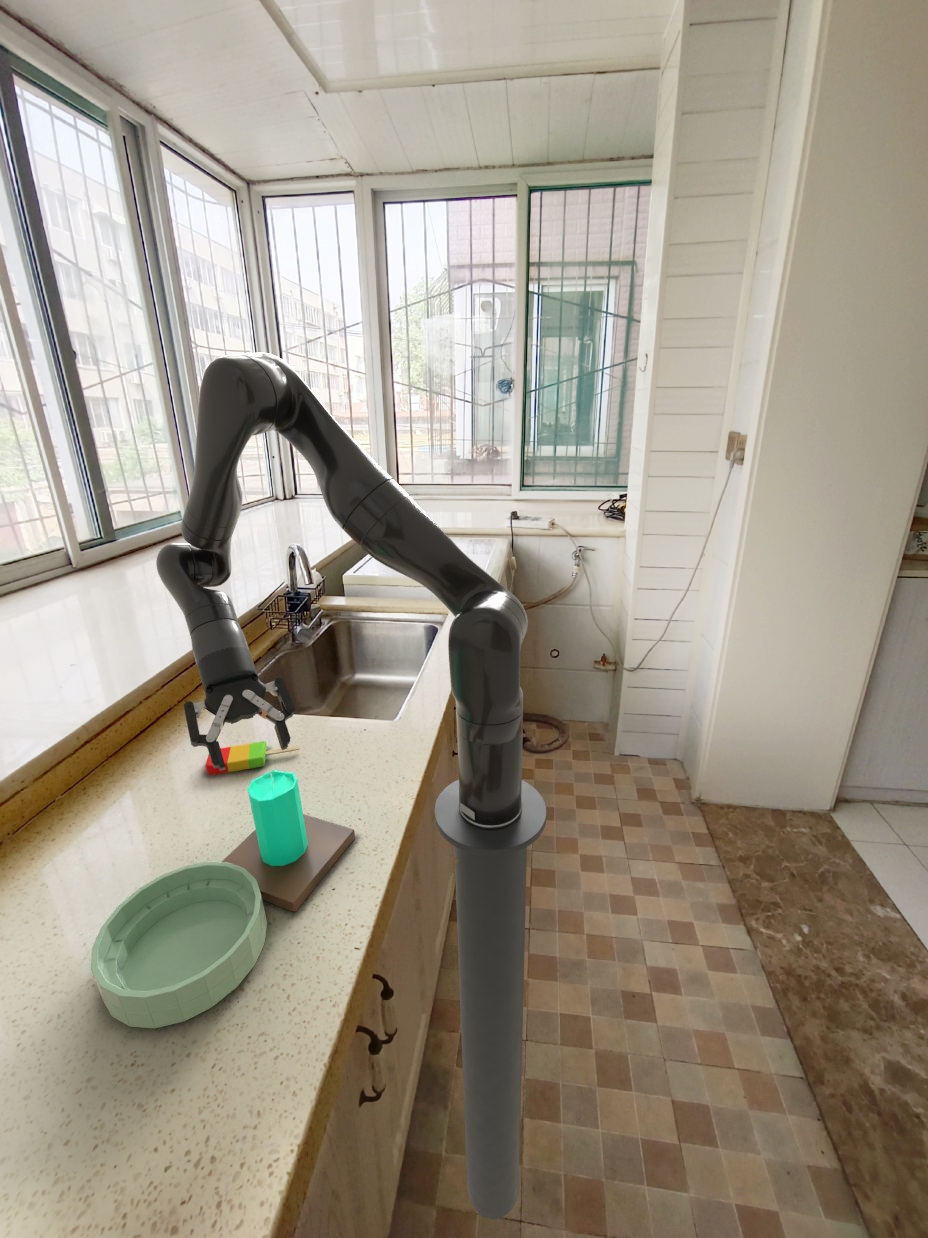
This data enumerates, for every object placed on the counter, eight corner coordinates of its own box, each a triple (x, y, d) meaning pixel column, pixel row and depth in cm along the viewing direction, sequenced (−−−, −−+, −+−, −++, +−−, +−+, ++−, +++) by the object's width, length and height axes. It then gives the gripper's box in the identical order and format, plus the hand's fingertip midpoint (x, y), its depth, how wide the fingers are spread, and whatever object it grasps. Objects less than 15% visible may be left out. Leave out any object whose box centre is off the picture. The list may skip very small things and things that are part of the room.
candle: (316, 848, 72) (304, 773, 68) (274, 874, 68) (259, 796, 64) (293, 826, 76) (281, 753, 71) (252, 849, 72) (236, 774, 68)
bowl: (194, 877, 70) (186, 847, 68) (296, 917, 64) (291, 885, 62) (67, 995, 56) (53, 961, 54) (183, 1060, 50) (171, 1024, 48)
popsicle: (211, 758, 94) (208, 749, 93) (300, 743, 98) (299, 734, 97) (205, 777, 89) (203, 767, 88) (300, 761, 93) (298, 752, 92)
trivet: (281, 814, 80) (279, 806, 80) (355, 837, 75) (354, 829, 75) (212, 881, 69) (210, 872, 68) (294, 913, 64) (293, 903, 64)
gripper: (169, 659, 74) (200, 770, 70) (273, 635, 82) (308, 734, 77) (172, 679, 80) (200, 782, 76) (269, 655, 88) (301, 748, 83)
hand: (255, 758), depth 76 cm, fingers open, 8 cm apart
